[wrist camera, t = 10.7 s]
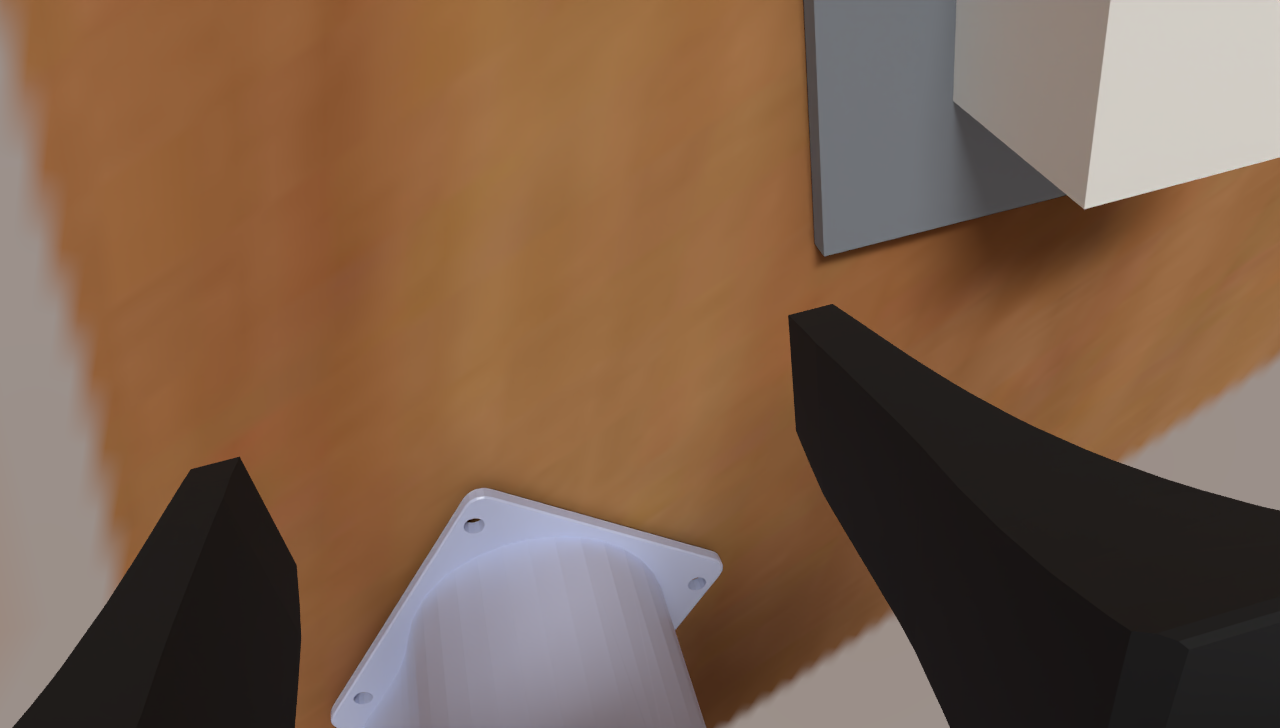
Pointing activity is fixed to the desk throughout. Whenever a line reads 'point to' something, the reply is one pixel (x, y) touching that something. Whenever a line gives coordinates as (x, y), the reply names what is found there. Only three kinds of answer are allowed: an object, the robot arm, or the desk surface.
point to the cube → (1123, 88)
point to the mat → (898, 127)
